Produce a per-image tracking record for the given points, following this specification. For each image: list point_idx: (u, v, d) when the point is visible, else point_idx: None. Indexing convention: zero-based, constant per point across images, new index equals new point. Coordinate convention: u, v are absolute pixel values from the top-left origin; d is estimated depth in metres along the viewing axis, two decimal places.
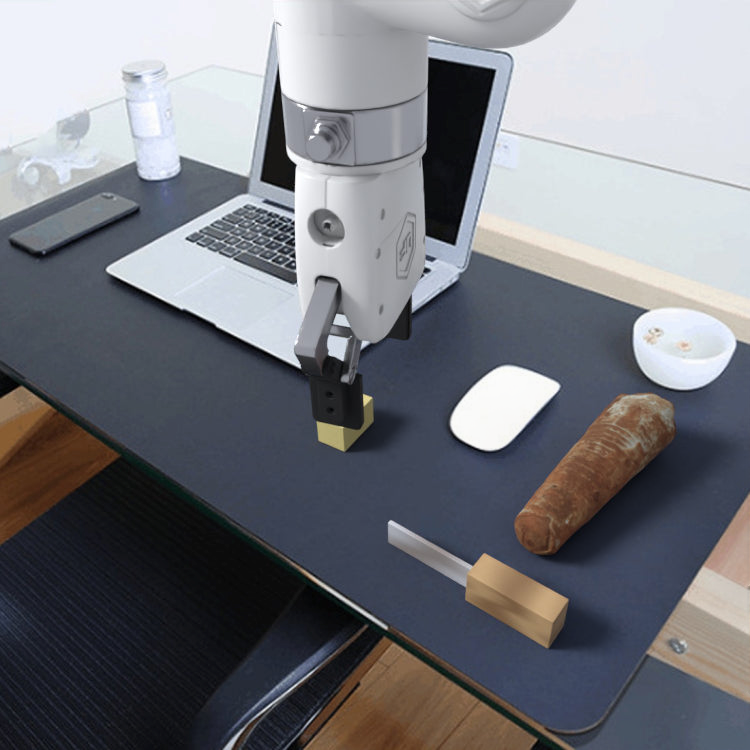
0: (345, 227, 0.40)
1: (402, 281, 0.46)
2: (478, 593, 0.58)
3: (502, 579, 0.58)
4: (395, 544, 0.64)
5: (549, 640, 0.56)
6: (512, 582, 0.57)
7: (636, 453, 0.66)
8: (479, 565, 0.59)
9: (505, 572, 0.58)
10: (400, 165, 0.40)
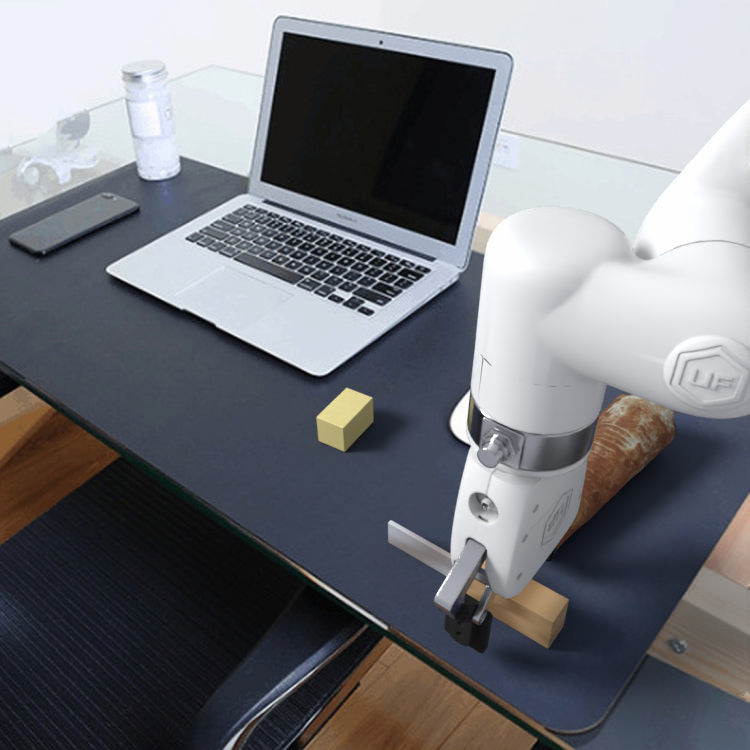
0: (499, 514, 0.46)
1: (547, 544, 0.51)
2: (478, 593, 0.58)
3: None
4: (395, 544, 0.64)
5: (549, 640, 0.56)
6: None
7: (635, 453, 0.66)
8: None
9: None
10: (560, 473, 0.45)
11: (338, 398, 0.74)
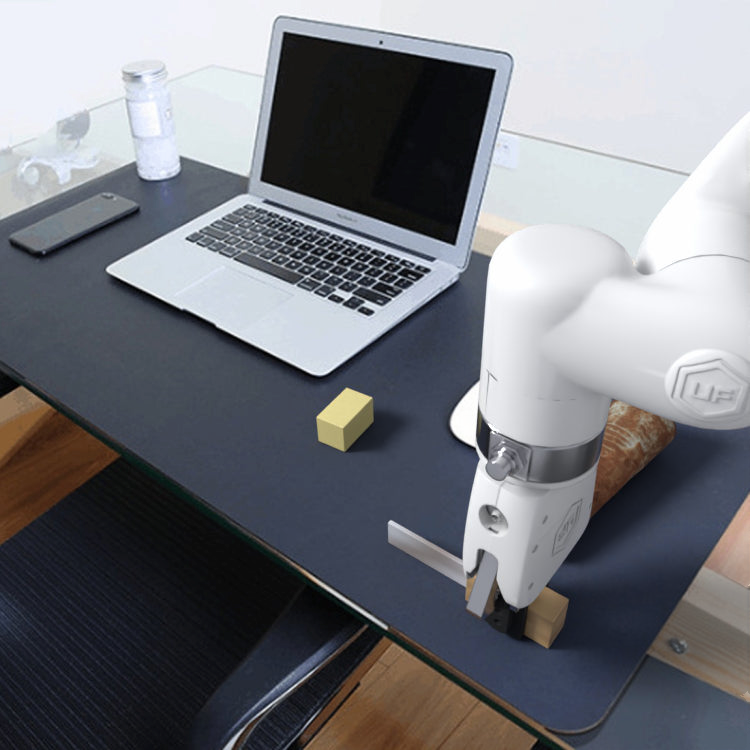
0: (509, 526, 0.46)
1: (558, 554, 0.51)
2: None
3: None
4: (395, 544, 0.64)
5: (549, 640, 0.56)
6: None
7: (635, 453, 0.66)
8: None
9: None
10: (568, 484, 0.46)
11: (338, 398, 0.74)
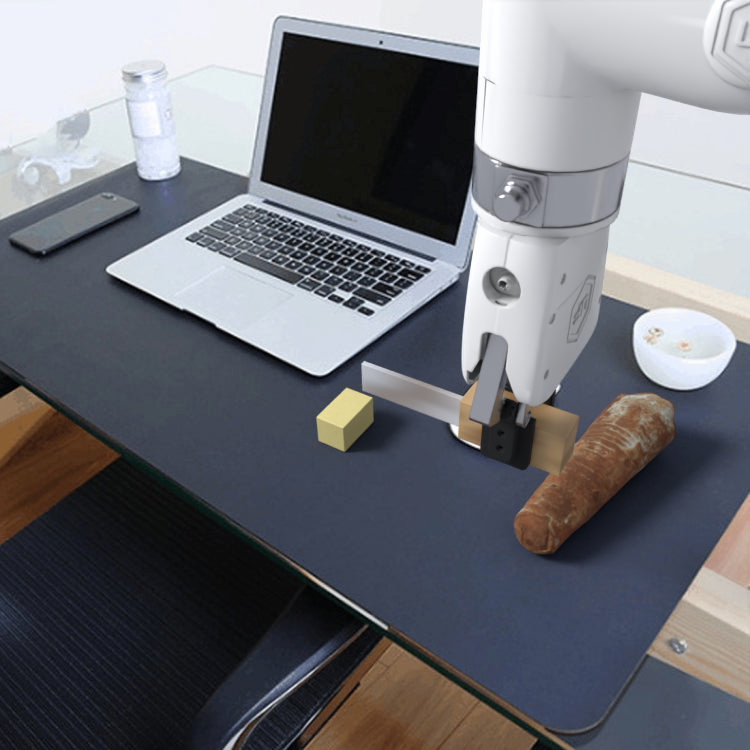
0: (522, 289, 0.39)
1: (571, 344, 0.44)
2: (473, 425, 0.51)
3: None
4: (371, 390, 0.55)
5: (560, 464, 0.48)
6: None
7: (635, 453, 0.66)
8: (473, 392, 0.51)
9: (503, 396, 0.50)
10: (590, 230, 0.38)
11: (338, 398, 0.74)
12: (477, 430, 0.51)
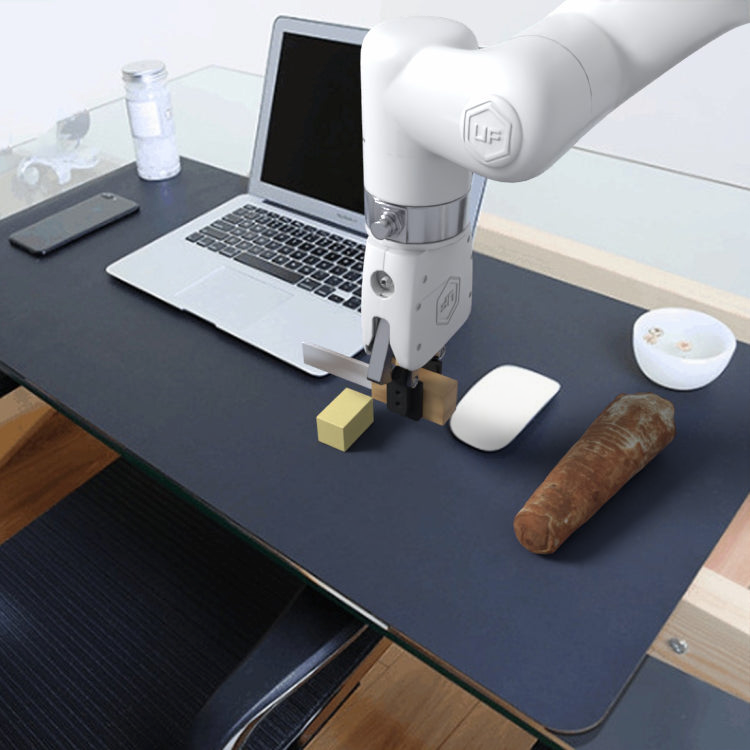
0: (395, 286, 0.55)
1: (442, 326, 0.60)
2: (381, 387, 0.67)
3: None
4: (310, 363, 0.72)
5: (443, 416, 0.65)
6: None
7: (635, 453, 0.66)
8: None
9: None
10: (441, 245, 0.55)
11: (338, 398, 0.74)
12: (384, 391, 0.67)
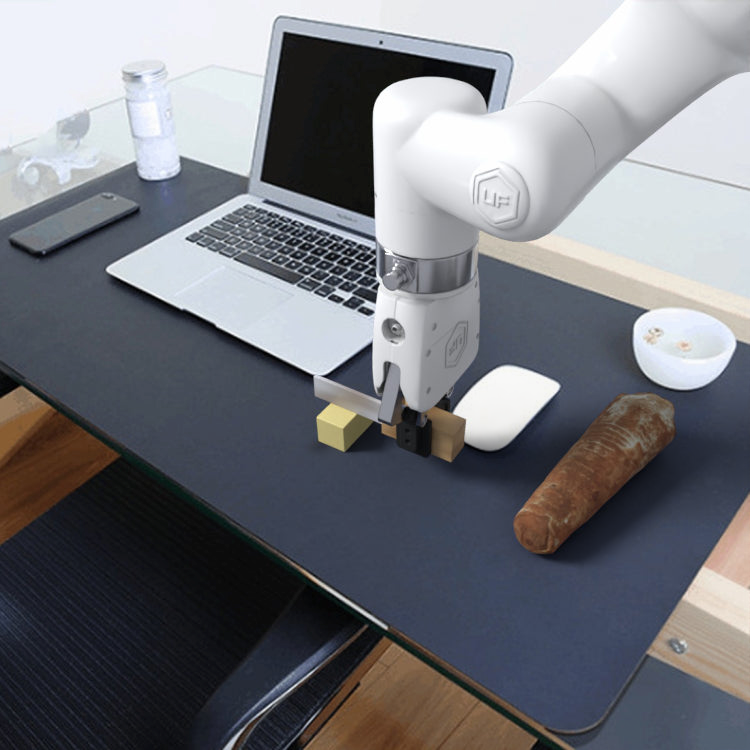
0: (406, 333, 0.57)
1: (450, 369, 0.62)
2: None
3: None
4: (321, 396, 0.74)
5: (451, 454, 0.67)
6: None
7: (635, 453, 0.66)
8: None
9: None
10: (450, 295, 0.57)
11: None
12: (394, 428, 0.69)
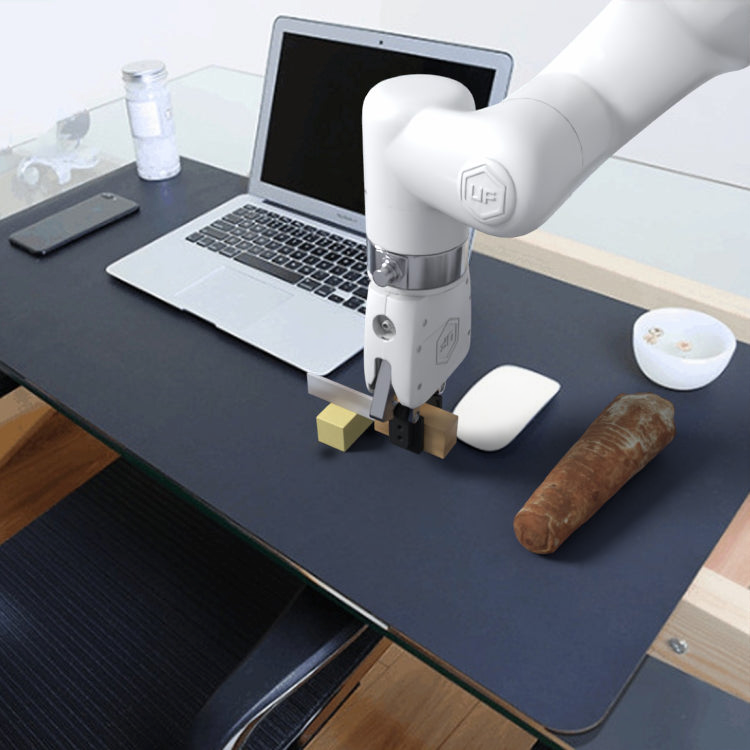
0: (396, 329, 0.58)
1: (442, 365, 0.63)
2: None
3: None
4: (314, 393, 0.74)
5: (443, 450, 0.68)
6: None
7: (635, 453, 0.66)
8: None
9: None
10: (440, 291, 0.57)
11: None
12: (387, 424, 0.70)
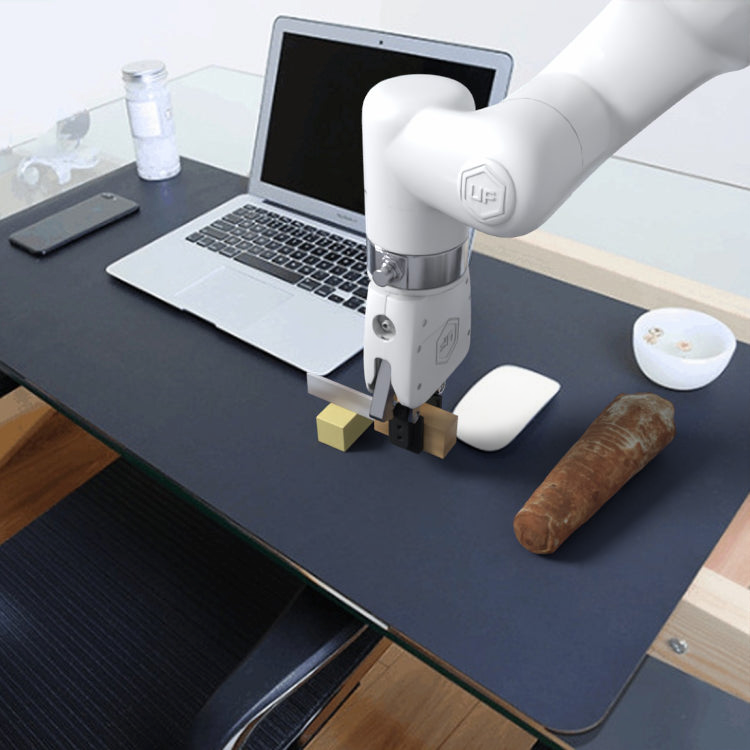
0: (396, 329, 0.58)
1: (442, 365, 0.63)
2: None
3: None
4: (314, 393, 0.74)
5: (443, 450, 0.68)
6: None
7: (635, 453, 0.66)
8: None
9: None
10: (440, 291, 0.57)
11: None
12: (387, 424, 0.70)
